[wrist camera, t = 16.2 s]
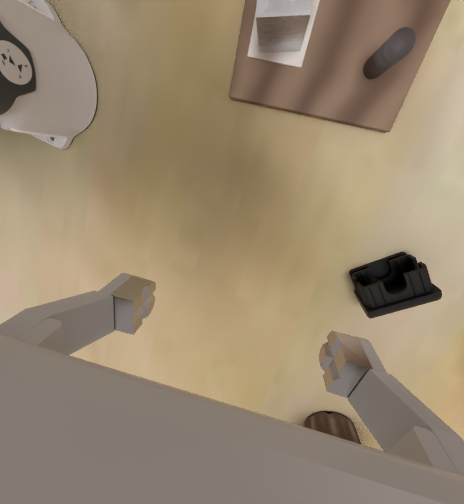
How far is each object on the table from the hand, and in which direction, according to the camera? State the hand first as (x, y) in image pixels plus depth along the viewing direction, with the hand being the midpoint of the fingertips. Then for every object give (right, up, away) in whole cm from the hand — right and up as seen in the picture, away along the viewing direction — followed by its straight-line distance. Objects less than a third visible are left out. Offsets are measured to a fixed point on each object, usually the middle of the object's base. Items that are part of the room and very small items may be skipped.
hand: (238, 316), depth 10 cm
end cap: (+26, -1, +29) cm, 39 cm away
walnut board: (+12, +28, +18) cm, 35 cm away
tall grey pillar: (+6, +30, +16) cm, 35 cm away
